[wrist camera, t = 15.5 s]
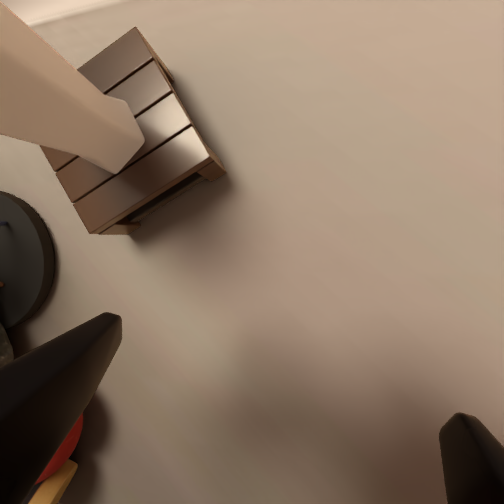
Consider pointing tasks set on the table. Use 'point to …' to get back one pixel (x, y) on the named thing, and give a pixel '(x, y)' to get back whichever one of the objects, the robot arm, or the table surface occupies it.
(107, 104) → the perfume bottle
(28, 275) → the figurine
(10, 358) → the rock
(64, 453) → the kendama
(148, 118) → the stool
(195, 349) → the table surface
